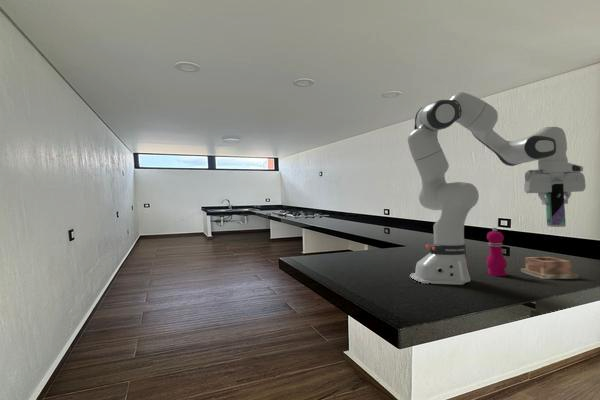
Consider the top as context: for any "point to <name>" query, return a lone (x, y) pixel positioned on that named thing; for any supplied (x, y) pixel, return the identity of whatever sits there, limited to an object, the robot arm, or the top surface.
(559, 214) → the spray can
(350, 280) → the top surface
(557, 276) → the can holder
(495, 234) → the pepper mill
